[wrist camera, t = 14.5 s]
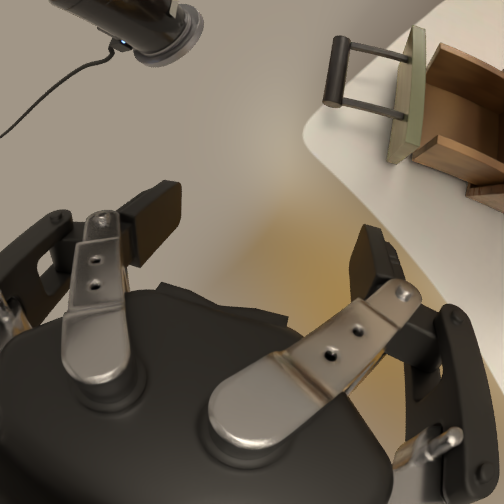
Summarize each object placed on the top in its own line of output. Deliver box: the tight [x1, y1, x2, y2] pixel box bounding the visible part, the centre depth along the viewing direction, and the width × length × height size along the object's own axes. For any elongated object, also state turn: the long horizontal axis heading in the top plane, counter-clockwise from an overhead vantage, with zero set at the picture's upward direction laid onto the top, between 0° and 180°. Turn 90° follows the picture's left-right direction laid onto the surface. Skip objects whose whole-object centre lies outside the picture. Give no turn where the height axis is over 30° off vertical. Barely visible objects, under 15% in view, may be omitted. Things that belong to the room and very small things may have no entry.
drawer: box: [322, 25, 504, 187], centre depth 19 cm, size 20×12×9 cm, turn 77°
